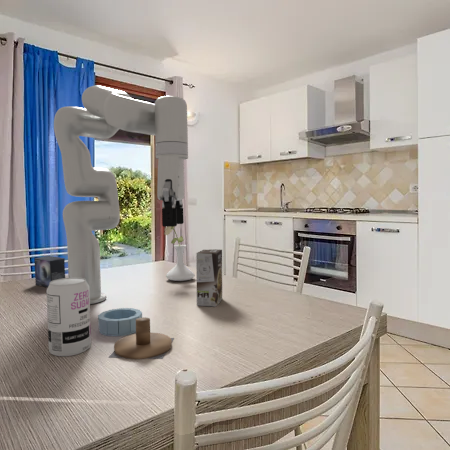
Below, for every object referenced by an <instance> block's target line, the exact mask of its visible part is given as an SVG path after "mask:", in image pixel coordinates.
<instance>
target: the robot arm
mask: <svg viewBox="0 0 450 450" xmlns="http://www.w3.org/2000/svg"><path fill="white" fill-rule="evenodd" d="M81 103H82V106H83V107H84V108H83V107H79V106H63V107H62V106H61V107H60V108H59V109H57V111H56V113H55V115H54V119H53V131H54V136H55V139H56V142H57V145H58V148H59V150H60V153H61V155H60V156H61V163H62V172H63V181H64V186H65V190H66V193H67V194H68V195H70V196H71V197H77V198H78V197H79V198H97V200H75V201H72V202H68V204H66V205H65V206H64V208H63V210H62V220H63V221H62V222H63V225H64V228H65V235H66V245H67V246H66V248H67V249H66V250H67V271H68V272H67V273H68V275H67V276H68V277H67V278H84V279H86V282H87V284H88V285H89V298H90V305H94V304H98V303H101V302H103V301H105V300H107V294H105V293H104V292H102V282H101V281H102V280H101V249H100V243H99V241H98V239H97V237H96V236H95V235H94V233H93V231H106V230H112V229H113V230H114V229H115V228H116V227H117V226H118V225H119V223H120V219H121V213H120V211H121V209H120V204H119V203H120V201H119V193H118V185H117V179H116V177H115V175H114V173H113V172H112V171H111V170H110V169H108V168H103V167H94V166H93V164H92V158H91V156H92V155H91V152H90V150H89V149H88V146H87V145H86V144H85V143H84V142H83V140H82V139H81V138H80V137H83V138H85V137H87V138H92V139H101V140H108V139H110V138H112V137H113V136H115V134H116V133H117V132H118V131H119V130H122V131H124V132H130V133H136V134H137V133H138V134H142V135H143V134H144V135H149V136H155V137H154V138H155V144H154V145H155V159H156V160H158V161H157V162H158V163H157V187H156V188H157V190H156V191H157V196H156V197H157V199H158V200H159V201H161V202H162V203H161V221H162V222H161V225H162V227H165V228H166V227H174V228H175V227H177V225H183V224H184V223H185V222H184V221H185V220H184V205H183V203H184V202H183V200H184V199H185V167H184V166H185V165H184V164H185V163H184V162H185V161H184V160H187V159H189V143H188V142H189V140H188V139H189V137H188V135H189V134H188V131H189V130H188V105H187V102H186V100H185V99H184V98H182V97H180V96H175V95H166V96H165V95H164V96H160V97H158V98H157V99H156V100H155V101H154V103H152V102H149V101H144V100H140V99H134V98H132V97H131V96H130V94H128V93H127V92H125V91H123V90H120V89H119V90H118V89H114V88H111V87H106V86H102V85H92V86H89V87H87V88H86V89H85V90H83V92H82V95H81Z"/></svg>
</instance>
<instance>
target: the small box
mask: <svg viewBox="0 0 450 450" xmlns="http://www.w3.org/2000/svg"><path fill="white" fill-rule="evenodd" d="M33 259H34V276H35V280H34V281H35V285H36V286H39V287H42V288H46V289H47V288H48V286H49V284H50V282H51V281H53V280H57V279H63V278H66V268H65V267H66V266H65V265H66V264H65V259H66V258H64V257H58V256H52V255H47V256H41V257H40V256H39V257H35V258H33Z"/></svg>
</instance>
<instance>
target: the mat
mask: <svg viewBox="0 0 450 450" xmlns="http://www.w3.org/2000/svg"><path fill="white" fill-rule="evenodd" d="M170 338H171V340H172V342H173V341H174V340H175V338H174V337H170ZM166 354H167V352H166V353H164V354H161V355H159V356H155V357H151V358H146V359H148V360H149V359H150V360H151V359H154V360H163V358H164V357H165V355H166ZM108 358H110V359H111V358H115V359H117V358H118V359H120V358H121V359H124V358H123V357H120V356H118V355H117V354H116V353H115V352H114V351H112V353H110V354H109V356H108Z"/></svg>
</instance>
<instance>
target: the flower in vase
mask: <svg viewBox="0 0 450 450" xmlns="http://www.w3.org/2000/svg"><path fill="white" fill-rule="evenodd" d="M163 231H164V233H163V235H165V236H168V235H170V234H171V233H172V232H173V231H174V234H175V237H174V238H173V239H172V240H171V241H170V244H172V245H173V244H174V245H173V247H174V248H175V251H176V256H177V259H176V260H177V261H176V264H175V266H174V267H172V268H171V269H170V270H169V271H168V272H167V273H166V274H165V275H166V276H165V277H166V279H168V280H170V281H176V282H183V281H184V282H185V281H189V280H192V279H194V277H195V276H196V275H195V273H194V272H193V270H191V269H190V268H189V267H188V266H187V265H186V264H185V263H184V251H185V249H186V247H187V244H180V243H183V242H184V238H183V235H181V236H179V237H178V234H177V233H176V232H177V231H176V230H175V227H165V228H164V230H163ZM176 242H178V244H175V243H176Z"/></svg>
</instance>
